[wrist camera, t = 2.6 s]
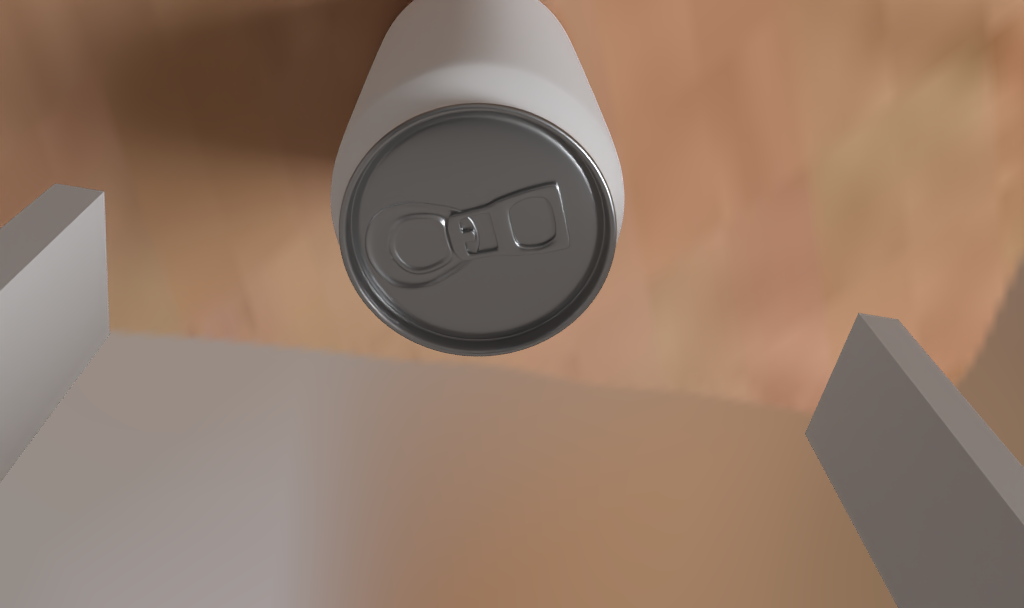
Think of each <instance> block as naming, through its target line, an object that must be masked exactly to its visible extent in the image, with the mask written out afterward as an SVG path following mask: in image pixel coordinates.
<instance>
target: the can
mask: <svg viewBox="0 0 1024 608" xmlns="http://www.w3.org/2000/svg"><path fill="white" fill-rule="evenodd" d="M331 214H332V221H333V226H334V230H335V234H336V237H337V240H338V243H339V245H340V250H341V255H342V259H343V262H344V266H345V269H346V271H347V274H348V276H349V278H350V281H351V282H352V284H353V286H354V288H355V290H356V291H357V293H358V295H359V296H360V298H361V299H362V300H363V302H364V303H365V304H366V305H367V307H368V308H369V309H370V310H371V311H372V312H373V313H374V314H375V315H376V316H377V317H378V318H379V319H380V320H381V321H382V322H383V323H385V324H386V325H387V326H388V327H390V328H391V329H392V330H394V331H395V332H397V333H398V334H400V335H402V336H403V337H405V338H407V339H409V340H411V341H413V342H415V343H417V344H419V345H422V346H424V347H427V348H430V349H433V350H436V351H440V352H444V353H449V354H455V355H462V356H494V355H501V354H507V353H512V352H516V351H520V350H523V349H526V348H529V347H532V346H534V345H537V344H539V343H541V342H543V341H545V340H547V339H549V338H551V337H553V336H554V335H556V334H558V333H559V332H561V331H562V330H564V329H565V328H566V327H568V326H569V325H570V324H571V323H573V322H574V321H575V320H576V319H577V318H578V317H579V316H580V315H581V314H582V313H583V312H584V311H585V310H586V309H587V308H588V307H589V305H590V304H591V303H592V301H593V300H594V299H595V297H596V296H597V294H598V293H599V291H600V289H601V288H602V286H603V284H604V282H605V280H606V278H607V276H608V273H609V271H610V268H611V265H612V261H613V257H614V253H615V248H616V243H617V240H618V237H619V234H620V230H621V226H622V221H623V214H624V185H623V177H622V171H621V166H620V162H619V159H618V155H617V152H616V149H615V146H614V143H613V140H612V138H611V135H610V133H609V130H608V128H607V125H606V123H605V120H604V118H603V115H602V113H601V111H600V108H599V106H598V103H597V101H596V99H595V96H594V94H593V92H592V89H591V87H590V84H589V82H588V80H587V77H586V75H585V73H584V70H583V68H582V66H581V63H580V61H579V59H578V57H577V54H576V52H575V50H574V48H573V46H572V43H571V41H570V39H569V37H568V35H567V34H566V32H565V30H564V28H563V27H562V25H561V24H560V22H559V21H558V20H557V18H556V17H555V16H554V15H553V13H552V12H551V11H550V10H549V9H548V8H547V7H546V6H545V5H544V4H542V3H541V2H540V1H539V0H413V1H412V2H411V3H410V4H409V5H408V6H407V7H406V8H405V9H404V10H403V11H402V12H401V13H400V14H399V15H398V16H397V18H396V19H395V20H394V22H393V23H392V25H391V26H390V28H389V30H388V31H387V33H386V35H385V37H384V39H383V41H382V44H381V46H380V48H379V50H378V52H377V55H376V57H375V59H374V62H373V64H372V67H371V69H370V71H369V74H368V76H367V78H366V81H365V83H364V86H363V88H362V91H361V93H360V96H359V98H358V100H357V103H356V105H355V108H354V110H353V113H352V115H351V118H350V120H349V123H348V125H347V128H346V131H345V133H344V136H343V138H342V141H341V144H340V147H339V150H338V153H337V157H336V160H335V164H334V168H333V174H332V182H331Z"/></svg>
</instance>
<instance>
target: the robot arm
mask: <svg viewBox="0 0 1024 608" xmlns="http://www.w3.org/2000/svg"><path fill="white" fill-rule="evenodd" d="M109 335H110V333H109V306H108V279H107V252H106V225H105V198H104V191H99V190H93V189H87V188H80V187H74V186H68V185H62V184H56V183H55V184H54V185H52V186H51V187H50V188H49V189H48V190H46V191H45V192H44V193H43V194H42V195H40V196H39V197H38V198H37V199H36V200H34V201H33V202H32V203H31V204H29V205H28V206H27V207H26V208H25V209H23V210H22V211H21V212H20V213H19V214H17V215H16V216H15V217H14V218H13V219H11V220H10V221H9V222H8V223H7V224H5V225H4V226H3V227H2V228H1V229H0V482H1V481H2V480H3V478H4V477H5V476H6V474H7V473H8V472H9V470H10V469H11V468H12V466H13V465H14V464H15V462H16V461H17V459H18V458H19V457H20V455H21V454H22V453H23V451H24V450H25V448H26V447H27V446H28V444H29V443H30V442H31V441H32V439H33V438H34V436H35V435H36V434H37V432H38V431H39V430H40V428H41V427H42V426H43V424H44V423H45V422H46V420H47V419H48V417H49V416H50V415H51V413H52V412H53V411H54V409H55V408H56V407H57V405H58V404H59V403H60V401H61V400H62V398H63V397H64V396H65V394H66V393H67V392H68V390H69V389H70V388H71V386H72V385H73V383H74V382H75V381H76V380H77V378H78V377H79V375H80V374H81V373H82V371H83V370H84V369H85V367H86V366H87V365H88V363H89V362H90V361H91V359H92V358H93V356H94V355H95V354H96V352H97V351H98V350H99V348H100V347H101V346H102V344H103V343H104V342H105V340H106V339H107V338H108V336H109ZM805 435H806V436H807V438H808V440H809V442H810V444H811V446H812V448H813V450H814V451H815V453H816V455H817V457H818V459H819V461H820V463H821V464H822V466H823V468H824V470H825V472H826V474H827V476H828V478H829V480H830V481H831V483H832V485H833V487H834V489H835V491H836V493H837V494H838V496H839V498H840V500H841V502H842V504H843V506H844V508H845V510H846V511H847V513H848V515H849V517H850V519H851V521H852V523H853V525H854V526H855V528H856V530H857V532H858V534H859V536H860V538H861V539H862V541H863V543H864V545H865V547H866V549H867V550H868V553H869V555H870V556H871V558H872V560H873V562H874V564H875V566H876V568H877V569H878V571H879V573H880V575H881V577H882V579H883V581H884V582H885V584H886V586H887V588H888V590H889V592H890V594H891V596H892V597H893V599H894V601H895V603H896V605H897V607H898V608H1024V467H1023V466H1022V465H1021V464H1020V463H1019V462H1018V460H1017V459H1016V458H1015V457H1014V456H1013V454H1012V453H1011V452H1010V451H1009V450H1008V448H1007V447H1006V446H1005V445H1004V444H1003V443H1002V442H1001V440H1000V439H999V438H998V437H997V435H996V434H995V433H994V432H993V431H992V430H991V428H990V427H989V426H988V425H987V424H986V423H985V421H984V420H983V419H982V418H981V417H980V415H979V414H978V413H977V412H976V411H975V410H974V408H973V407H972V406H971V405H970V404H969V403H968V401H967V400H966V399H965V398H964V397H963V395H962V394H961V393H960V392H959V391H958V390H957V388H956V387H955V386H954V385H953V384H952V382H951V381H950V380H949V379H948V378H947V377H946V375H945V374H944V373H943V372H942V371H941V369H940V368H939V367H938V366H937V365H936V364H935V362H934V361H933V360H932V359H931V358H930V357H929V355H928V354H927V353H926V352H925V351H924V349H923V348H922V347H921V346H920V345H919V344H918V342H917V341H916V340H915V339H914V338H913V336H912V335H911V334H910V333H909V332H908V331H907V329H906V328H905V327H904V326H903V325H902V324H901V322H900V321H899V320H898V319H892V318H886V317H880V316H874V315H868V314H861V313H858V316H857V318H856V320H855V322H854V325H853V327H852V329H851V331H850V334H849V336H848V338H847V340H846V343H845V345H844V347H843V349H842V352H841V354H840V356H839V358H838V361H837V363H836V365H835V367H834V370H833V372H832V374H831V376H830V379H829V381H828V383H827V385H826V388H825V390H824V392H823V394H822V397H821V399H820V401H819V403H818V406H817V408H816V410H815V412H814V415H813V417H812V419H811V421H810V424H809V426H808V428H807V430H806V433H805Z"/></svg>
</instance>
